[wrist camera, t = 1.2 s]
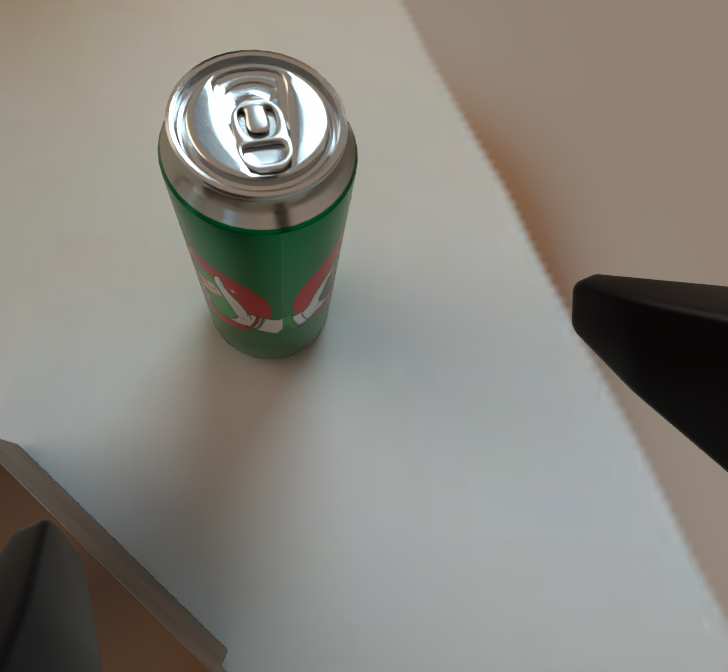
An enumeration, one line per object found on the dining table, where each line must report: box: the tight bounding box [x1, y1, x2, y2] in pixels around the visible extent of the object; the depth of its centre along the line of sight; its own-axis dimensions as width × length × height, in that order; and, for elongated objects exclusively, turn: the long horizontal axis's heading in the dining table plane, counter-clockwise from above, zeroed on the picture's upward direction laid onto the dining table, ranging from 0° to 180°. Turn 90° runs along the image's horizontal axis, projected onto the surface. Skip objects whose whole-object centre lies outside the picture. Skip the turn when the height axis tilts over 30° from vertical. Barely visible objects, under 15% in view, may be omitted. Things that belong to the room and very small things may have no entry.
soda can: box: [158, 50, 358, 358], centre depth 19 cm, size 5×5×12 cm
